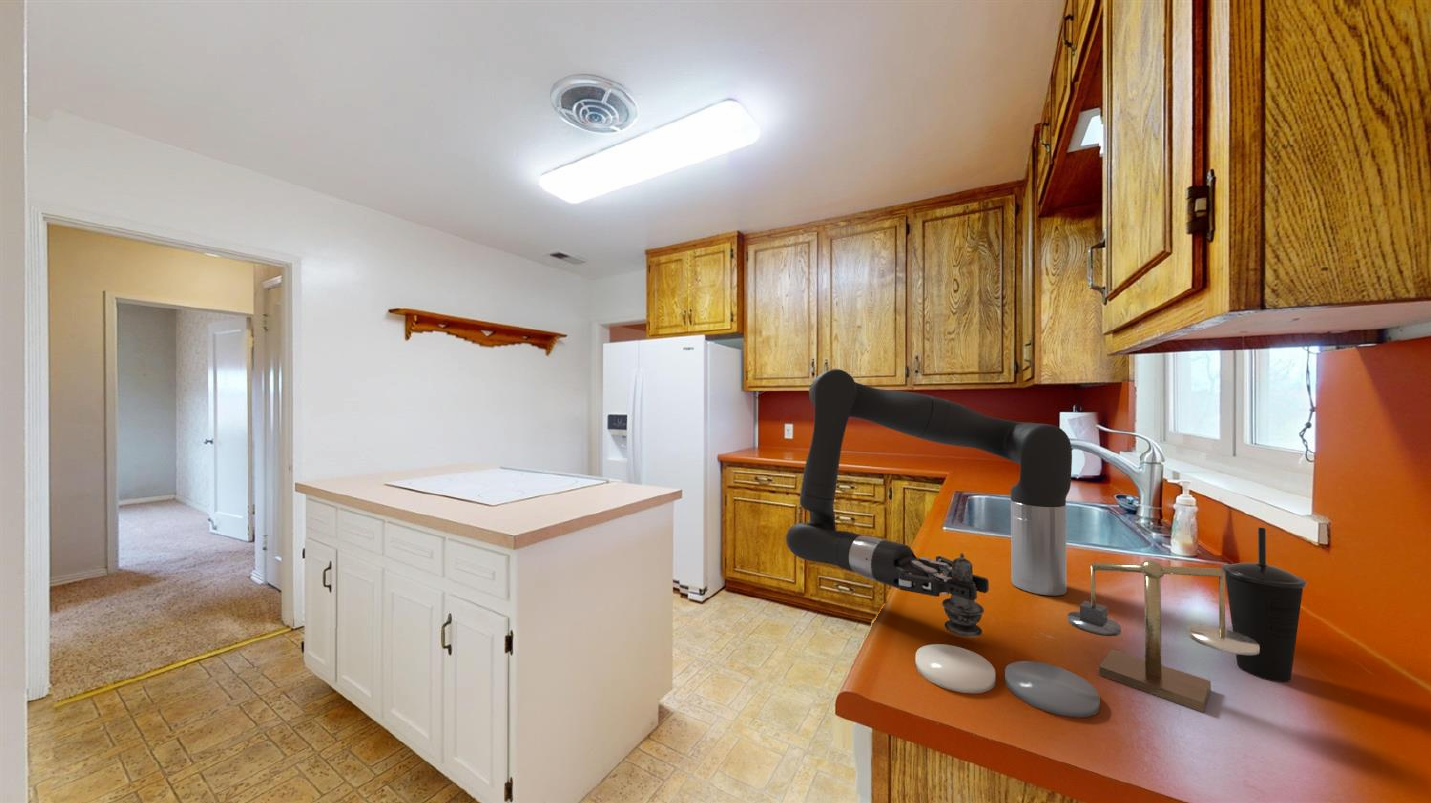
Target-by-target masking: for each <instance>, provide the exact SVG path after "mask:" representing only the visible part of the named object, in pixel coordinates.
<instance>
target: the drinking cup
mask: <svg viewBox="0 0 1431 803" xmlns="http://www.w3.org/2000/svg"><path fill="white" fill-rule="evenodd" d="M1266 533H1267V530H1266V528H1265V527H1258V528H1257V534H1258V536H1257V540H1258V541H1257V545H1258V548H1257V550H1258V554H1257V556H1258V558H1257V559H1258V562H1238V563H1237V562H1236V563H1232V564H1230V563H1228V564H1225V565H1222V566H1221V570H1222V572H1223V573H1225V586H1226V592H1227V599H1228V600H1227V601H1228V606H1229V612H1230V613H1229V614H1230V619H1231V620H1230V621H1231V630H1232V631H1234V632H1237V633H1239V634H1242V635H1245V636H1247V637H1249V638H1251V639H1253V640H1255V641H1256V642H1257V643H1258V644H1259V645H1260V653H1259V654H1257V655H1238V654H1235V657H1236V664H1237V667H1238V668H1239V669H1241V670H1242V671H1244V672H1246V673H1247V674H1250V675H1251V676H1255V677H1257V678H1261V679H1264V680H1268V681H1273V682H1280V683H1288V682H1290V681H1291V680H1292V679H1291V678H1292V674H1293V673H1292V672H1293V666H1294V657H1295V649H1296V643H1297V642H1296V641H1297V636H1298V635H1297V634H1298V629H1299V623H1300V622H1299V621H1300V615H1301V614H1300V613H1301V605H1302V598H1303V590H1304V588H1306V587H1307V580H1305V579H1304V578H1302V577H1300V576H1298V575H1295V574H1293V573H1292V572H1289V571H1287V570H1284V569H1282V568H1279V567H1276V566H1272V565H1269V564H1267V553H1266V552H1267V545H1266V544H1267V542H1266V541H1267V536H1266Z"/></svg>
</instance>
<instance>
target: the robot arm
mask: <svg viewBox="0 0 1431 803" xmlns="http://www.w3.org/2000/svg"><path fill="white" fill-rule="evenodd" d="M808 389H809V390H808V396H809V401H810V402H811V404H812V406H813V407H814V420H813V421H814V424H813V432H812V438H811V443H810V447H809V450H808V454H807V459H806V462H805V467H804V470H803V477H802V482H801V487H800V488H801V489H800V497H799V504H800V507H801V508H802V509H803V510H806V511H808V514H809V522H798V523H795V524H793V525H792V526H791V527H789V529H788V530H787V533H786V536H785V540H786V545H787V547H788V549H789V551H790V552H791V553H792V554H793V555H794V556H796V557H798V558H799V559H803V560H806V561H810V562H814V563H815V562H816V563H820V564H827V565H833V566H836V567H838V568H841V569H843V570H846V571H848V572H852V573H856V574H858V575H860V576H861V577H864V578H866V579H869V580H872V581H874V582H878V583H881V584H884V585H887V586H890V587H893V588H895V589H899V590H900V591H904V592H908V593H909V592H911V593H915V594H921V595H927V596H930V597H937V598H938V597H940V595H941V594H942V595H943V596H944V595H945V596H948V595H956V596H959V597H962V598H965V599H968V600H971V601H976V599H978V592H979V593H982V594H986V593H988V592H989V590H990V588H989V587H990V585H989V580H988V578H986V577H984V576H980V575H976V574H973V582H975V585H972V584H969V583H965V582H962V581H958V580H955V579H951V578H952V562H953V560H951V559H948V558H945V557H943V556H940V555H935V560H932V559H931V558H929V557H923V556H922V557H921V556H920V557H917V556H916V555H915V553H914V551H913V549H912V548H911V547H910V546H909V545H907V544H903V543H899V542H896V541H893V540H888V539H884V538H880V537H875V536H868V535H862V534H859V533H855V532H850V531H845V530H837V529H836V528H837V527H836V516H835V509H834V508H835V507H834V504H835V503H834V502H835V497H836V490H837V484H838V476H839V467H840V460H841V453H842V446H843V441H844V438H845V437H844V436H845V433H846V427H847V424H848V421H849V418H854V419H859V420H864V421H868V422H870V423H871V422H872V423H874V424H877V425H879V426H882V427H885V428H887V429H890V430H893V431H896V432H898V433H902V434H905V435H907V436H911V437H914V438H916V439H917V438H918V439H922V440H926V441H929V442H933V443H936V444H942V445H949V446H954V447H962V448H963V447H964V448H969V449H977V450H980V451H982V452H983V451H984V452H985V453H986V452H987V453H988V454H992V455H995V456H998V457H1000V458H1003V459H1005V460H1008V461H1010V462H1012V463H1015V464H1017V465H1020V472H1019V479H1018V482H1017V483H1016V484H1013V485H1012V486H1011V488H1010V532H1011V533H1010V537H1011V538H1010V542H1011V544H1010V547H1011V548H1010V549H1011V551H1010V552H1011V557H1010V558H1011V564H1010V566H1011V568H1010V570H1011V572H1010V575H1011V584H1012V585H1013V586H1015V587H1016V588H1018V589H1020V590H1023V591H1026V592H1028V593H1032V594H1037V595H1043V596H1053V597H1054V596H1055V597H1056V596H1062V595H1066V594H1067V590H1068V588H1067V587H1068V586H1067V585H1068V584H1067V571H1068V570H1067V508H1066V506H1067V500H1066V499H1067V496H1068V494H1069V492H1070V490H1071V485H1072V467H1073V464H1072V463H1073V447H1072V442H1071V440H1070V438H1069V436H1068V434H1067V433H1066V432H1065V431H1064V430H1063V429H1062V428H1061V427H1058V426H1057V425H1054V424H1047V423H1039V422H1038V423H1037V422H1036V423H1034V422H1026V421H1025V422H1024V421H1023V422H1020V421H1014V420H1007V419H1001V418H996V417H992V416H988V415H984V414H983V413H979V412H977V411H975V410H973V409H971V408H968V407H967V406H964V405H962V404H960V403H957V402H955V401H951V400H948V399H945V398H940V397H936V396H933V395H929V394H924V393H918V392H911V391H905V390H904V391H902V390H890V389H880V388H876V387H872V386H868V385H865V384H862V383H859V382H856V381H855V379H854V378H853V377H852V375H851V374H850V373H848V372H847V371H845V370H843V369H840V368H833V369H828V370H825V371H823V372H822V373H820V374H819V375H817V376H816V377H815V379H814V380H813V381H812V382H811V384H810V386H809V388H808Z"/></svg>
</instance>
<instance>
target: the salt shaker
mask: <svg viewBox="0 0 1431 803" xmlns="http://www.w3.org/2000/svg"><path fill="white" fill-rule="evenodd" d="M959 556H960V557H958V558H954V559H953V560H952V561H953V562H952V578H951V579H955V580H958V581H962V582H965V583H969V584H972V585H975V582H973V575H974V574H973V568H974V567H973V564H972V562H971V561H970V560H969V559H967V558H966V557H965V555H964V553H963V552H961V553H960V554H959ZM975 601H976V600H974V601H971V600H968V599H965V598H962V597H959V596H956V595H952V594H950V597H949V598H945V599H943V601H942V602H941V605H942V606H943V610H944V612H945V614H946V616H947V618H948V620H946V621H945V622H944V628H945V629H946V630H947V631H948V632H950V633H952V634H954V635H957V636H960V637H965V638H976V637H979V636H982V635H983V630H982V628H981V627H980V626H979V625H977V624H978V623H979V622H980V621H981V619H982V616H983V614H984V612H985V608H984V607H983V606H982V605H981V604H979V603H977V602H975Z"/></svg>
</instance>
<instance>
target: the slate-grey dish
mask: <svg viewBox="0 0 1431 803" xmlns="http://www.w3.org/2000/svg"><path fill="white" fill-rule="evenodd" d="M1004 681H1005V684H1006V686H1007V688H1008V689H1009V690H1010V692H1011V693H1012V694H1014V695H1015V697H1017V698H1018V699H1019V700H1021V701H1022V702H1025V703H1027V704H1028V705H1030V706H1033V707H1035V708H1036V709H1039V710H1041V711H1043V712H1044V711H1045V712H1047V713H1050V714H1053V715H1058V716H1061V717H1069V718H1089V717H1092V716H1094V715H1096V714H1098V712H1099V711H1100V704H1101V703H1100V694H1099V692H1098V690H1097V689H1096V688H1095V687H1094V685H1093V684H1091V683H1090V682H1089V681H1087V680H1086V679H1085V678H1082V677H1081V676H1079V675H1077V674H1075V672H1071V671H1070V670H1067V669H1064V668H1062V667H1059V666H1057V665H1056V666H1055V665H1053V664H1049V663H1044V662H1037V661H1030V660H1023V661H1022V660H1019V661H1015V662H1011V663H1010V664H1008V665H1006V667H1005V669H1004Z"/></svg>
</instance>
